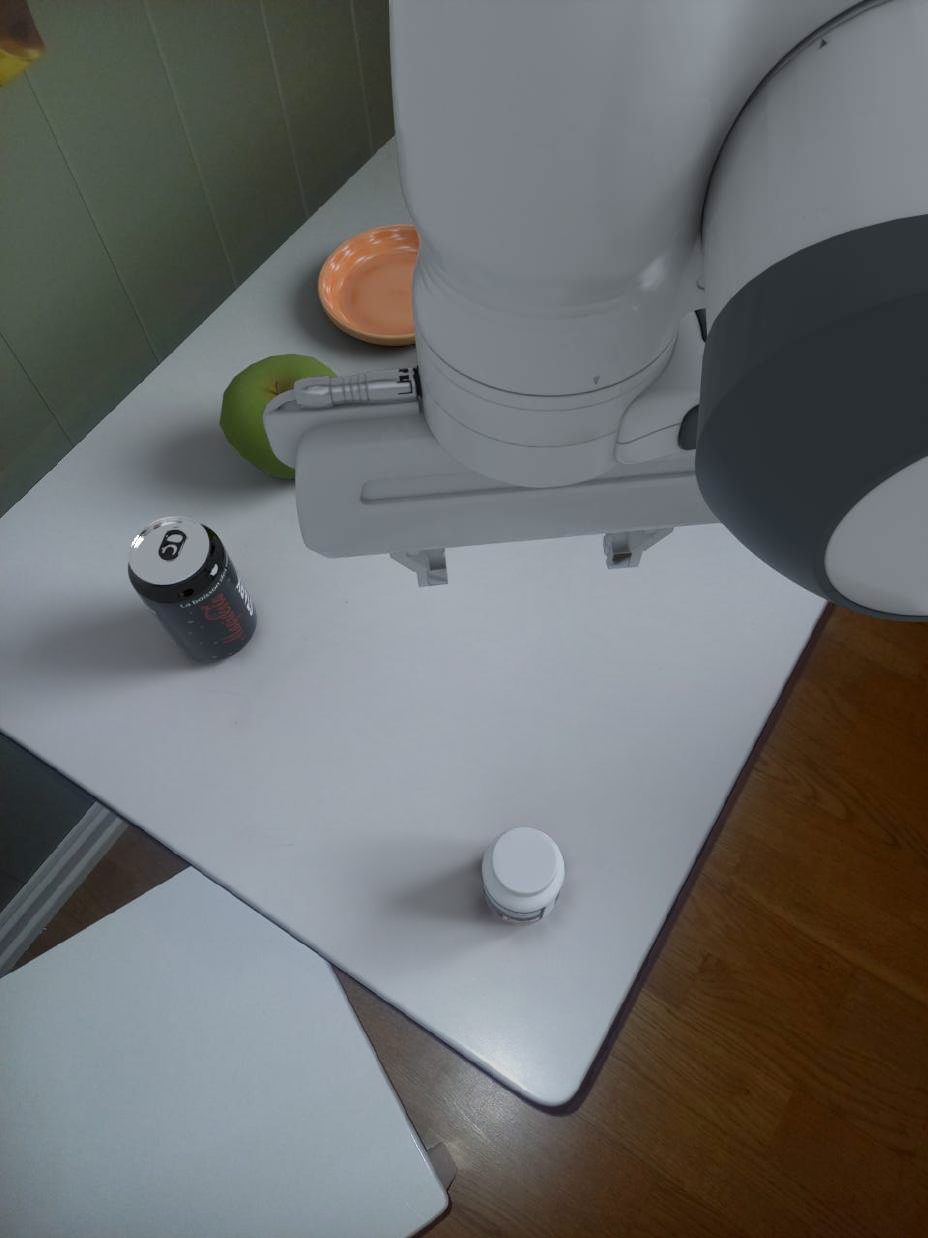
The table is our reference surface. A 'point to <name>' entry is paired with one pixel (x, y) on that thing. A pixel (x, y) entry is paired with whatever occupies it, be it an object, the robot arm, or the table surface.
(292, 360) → the apple
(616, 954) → the table surface
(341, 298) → the saucer
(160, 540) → the beverage can
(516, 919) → the pill bottle
